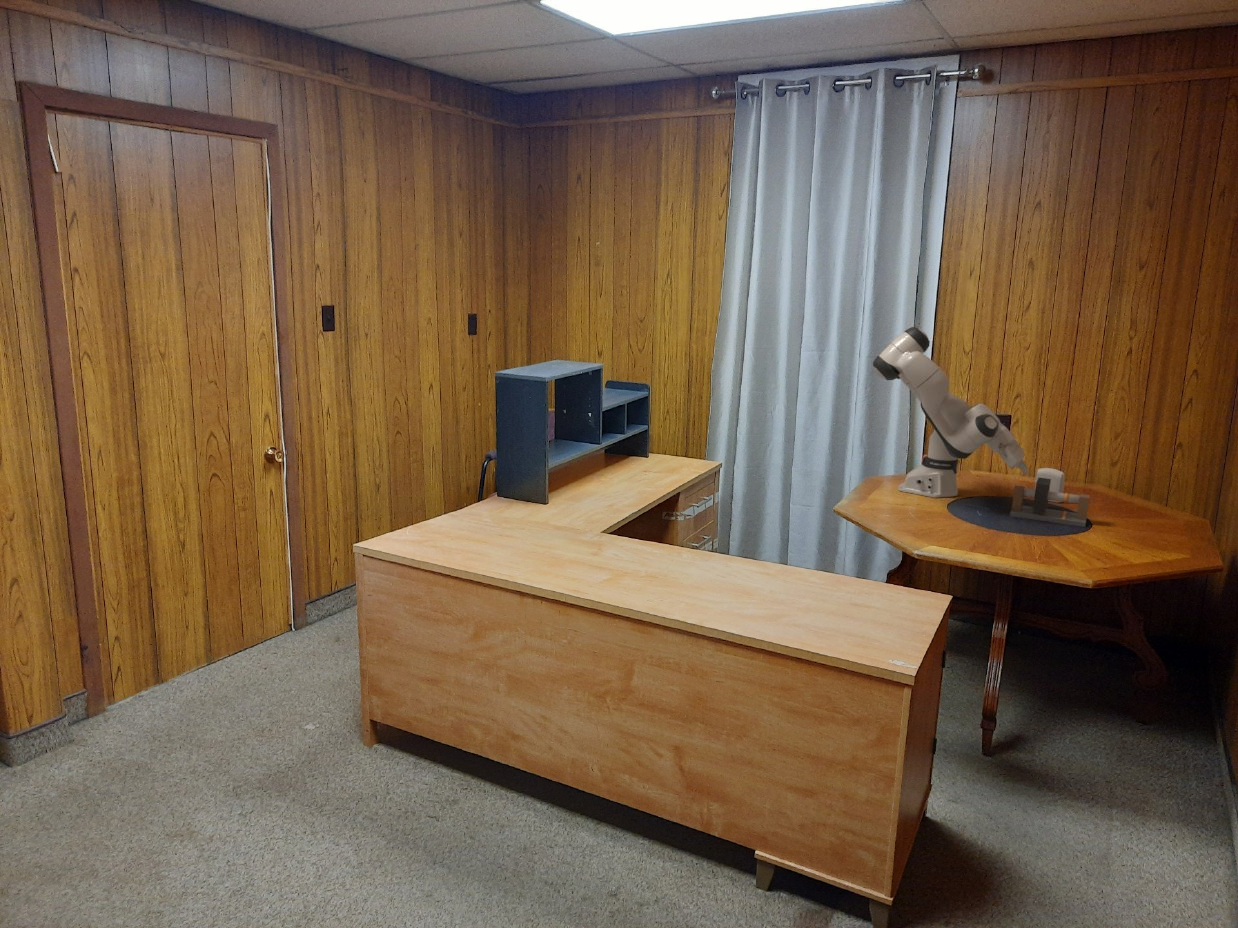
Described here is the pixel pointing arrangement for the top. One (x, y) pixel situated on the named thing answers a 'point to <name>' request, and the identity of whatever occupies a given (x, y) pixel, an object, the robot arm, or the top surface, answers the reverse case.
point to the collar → (1041, 494)
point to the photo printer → (1052, 479)
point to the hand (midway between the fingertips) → (1027, 472)
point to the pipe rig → (1049, 514)
